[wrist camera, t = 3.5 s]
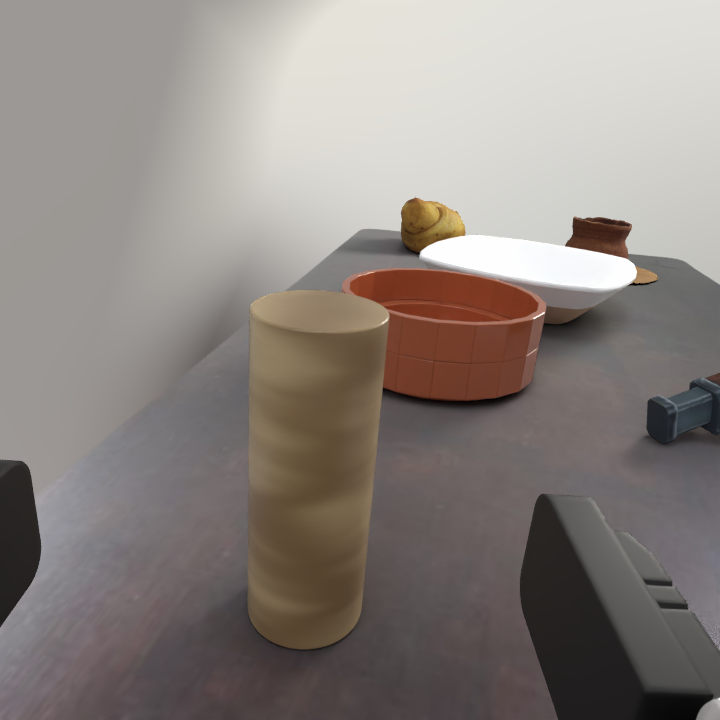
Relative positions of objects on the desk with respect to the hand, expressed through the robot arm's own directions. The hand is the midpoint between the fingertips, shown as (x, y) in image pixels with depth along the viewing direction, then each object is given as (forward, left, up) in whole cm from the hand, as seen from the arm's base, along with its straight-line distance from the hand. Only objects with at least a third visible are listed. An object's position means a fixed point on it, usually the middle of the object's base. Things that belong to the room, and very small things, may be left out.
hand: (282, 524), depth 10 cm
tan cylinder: (0, +10, -11) cm, 16 cm away
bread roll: (+13, +84, -12) cm, 86 cm away
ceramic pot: (+36, +78, -12) cm, 87 cm away
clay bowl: (+8, +36, -11) cm, 39 cm away
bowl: (+20, +56, -12) cm, 61 cm away
